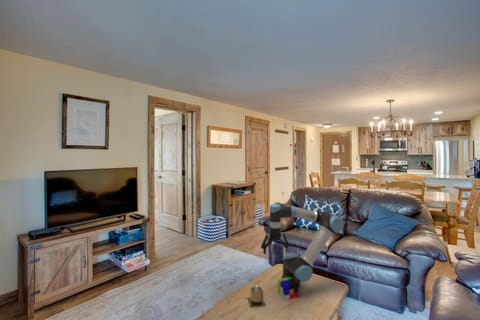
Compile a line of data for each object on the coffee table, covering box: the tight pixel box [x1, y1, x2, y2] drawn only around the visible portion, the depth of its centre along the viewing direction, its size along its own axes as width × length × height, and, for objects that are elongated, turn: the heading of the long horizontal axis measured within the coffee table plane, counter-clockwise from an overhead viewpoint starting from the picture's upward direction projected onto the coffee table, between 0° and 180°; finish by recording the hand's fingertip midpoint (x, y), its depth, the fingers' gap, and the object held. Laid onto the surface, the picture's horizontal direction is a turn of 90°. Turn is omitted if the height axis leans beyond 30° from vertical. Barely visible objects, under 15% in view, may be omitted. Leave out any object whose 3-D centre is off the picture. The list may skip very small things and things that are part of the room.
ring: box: [249, 286, 264, 302], centre depth 168 cm, size 8×8×6 cm
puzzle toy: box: [277, 277, 299, 301], centre depth 177 cm, size 10×10×10 cm
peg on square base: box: [247, 284, 267, 308], centre depth 168 cm, size 10×10×12 cm
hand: (275, 257), depth 172 cm, fingers open, 13 cm apart
